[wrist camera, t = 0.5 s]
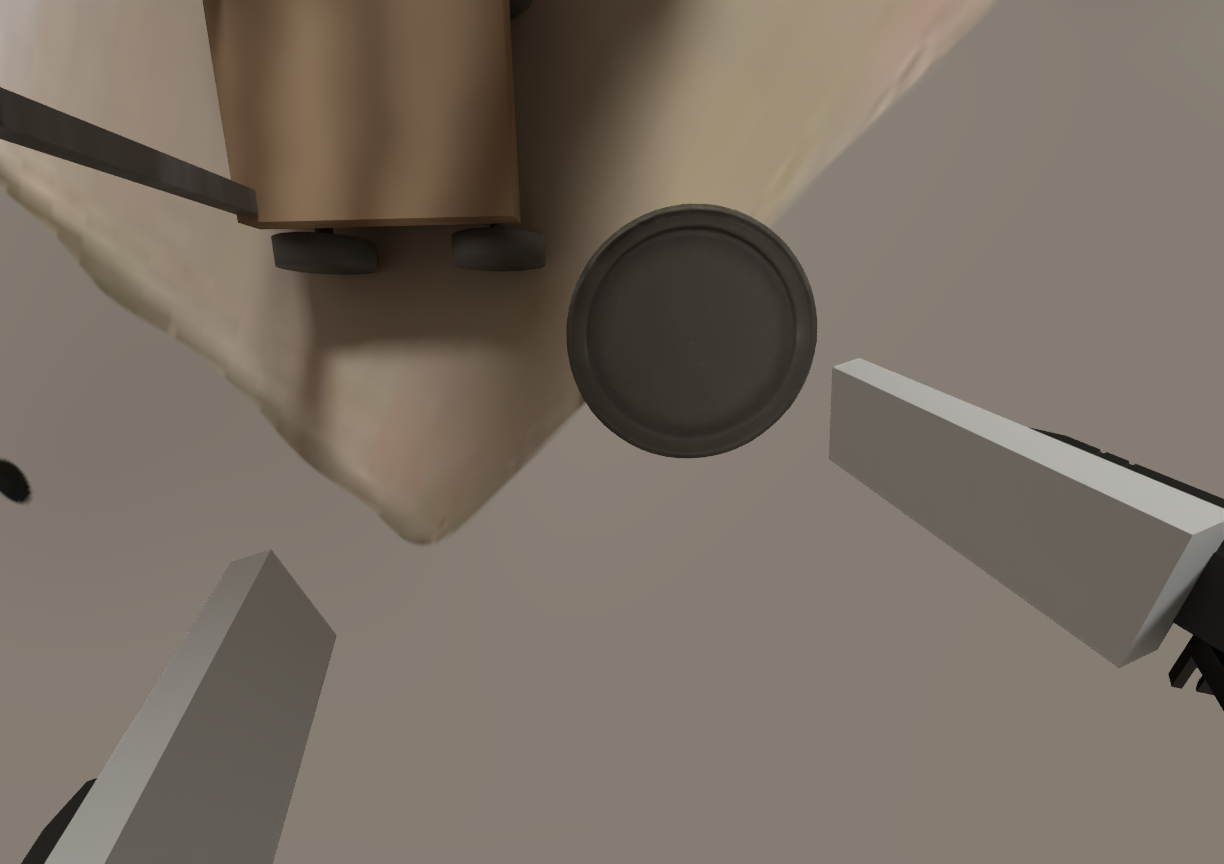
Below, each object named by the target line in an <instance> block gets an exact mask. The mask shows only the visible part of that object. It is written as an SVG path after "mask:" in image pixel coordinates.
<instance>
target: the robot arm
mask: <svg viewBox="0 0 1224 864" xmlns="http://www.w3.org/2000/svg"><path fill="white" fill-rule="evenodd" d="M832 368H833V369H832V392H831V393H832V396H831V420H830V446H829V459H830V460H831V461H833V462H834V463H835V464H837V465H838V466H839V467H841V468H842V469H844V470H845V471H846V472H848V473H849V474H851V475H852V476H853V477H855V478H856V479H857V480H859V481H860V482H862V483H863V484H864V485H866V486H867V487H869V488H870V489H871V490H873V491H874V492H876V493H877V494H878V495H880V496H881V497H882V498H884V499H885V500H887V501H888V502H889V503H891V504H892V505H894V506H895V507H896V508H898V509H899V510H901V511H902V512H903V513H905V514H906V515H908V516H909V517H910V518H912V519H913V520H914V521H916V522H917V523H919V524H920V525H921V526H923V527H924V528H925V529H927V530H928V531H930V532H931V533H932V534H934V535H935V536H937V537H938V538H939V539H941V540H942V541H944V542H945V543H946V544H948V545H949V546H950V547H952V548H953V549H955V550H956V551H957V552H959V553H960V554H962V555H963V556H964V557H966V558H967V559H969V560H970V561H971V562H973V563H974V564H976V565H977V566H978V567H980V568H981V569H982V570H984V571H985V572H986V573H988V574H989V575H991V576H992V577H993V578H995V579H996V580H998V581H999V582H1000V583H1002V584H1003V585H1005V586H1006V587H1007V588H1009V589H1010V590H1011V591H1013V592H1014V593H1016V594H1017V595H1018V596H1020V597H1021V598H1023V599H1024V600H1025V601H1027V602H1028V603H1030V604H1031V605H1032V606H1034V607H1035V608H1036V609H1038V610H1039V611H1041V612H1042V613H1043V614H1045V615H1046V616H1048V617H1049V618H1050V619H1052V620H1053V621H1054V622H1056V623H1057V624H1059V625H1060V626H1062V627H1063V628H1064V629H1066V630H1067V631H1068V632H1070V633H1071V634H1072V635H1074V636H1075V637H1077V638H1078V639H1079V640H1081V641H1082V642H1084V643H1085V644H1086V645H1088V646H1089V647H1091V648H1092V649H1093V650H1095V651H1096V652H1098V653H1099V654H1100V655H1102V656H1103V657H1104V658H1106V659H1107V660H1109V661H1110V662H1111V663H1113V664H1114V665H1115V666H1117V667H1118V668H1120V667H1122V666H1124V665H1126V664H1129V663H1130V662H1133V661H1135V660H1137V659H1139V658H1141V657H1143V656H1145V655H1147V654H1149V653H1151V652H1153V651H1155V650H1157V649H1158V648H1159V646H1160V644H1161V643H1162V641H1163V639H1164V638H1165V636H1166V634H1167V633H1168V631H1169V629H1170V628H1171V626H1172V624H1173V623H1175V624H1177V625H1178V626H1180V627H1182V628H1183V629H1185V630H1187V631H1188V632H1190V633H1192V634H1193V636H1192V638H1191V640H1190V641H1189V642H1188V644H1187V646H1186V647H1185V649H1184V650H1183V652H1182V653H1181V655H1180V656H1179V658H1178V659H1177V661H1176V663H1175V664H1174V666H1173V667H1172V669H1171V670H1170V672H1169V678H1170V682H1171V686H1172V687H1177V688H1182V687H1183V686H1184V685H1185V683H1186V682H1187V680H1188V678H1189V677H1190V676H1191V674H1192V673H1193V671H1194V670H1195V669H1196V668H1199V670H1200V672H1201V674H1202V677H1201V678H1200V679H1199V681H1198V683H1197V687H1196V691H1197V692H1202V693H1206V694H1211V695H1214V696H1215V697H1216V699H1217V700H1218V702H1219V704H1220V706H1221V707H1222V709H1223V711H1224V499H1222V498H1220V497H1217V496H1215V495H1212V494H1210V493H1207V492H1205V491H1202V490H1200V489H1197V488H1195V487H1192V486H1190V485H1187V484H1185V483H1182V482H1180V481H1177V480H1175V479H1172V478H1170V477H1167V476H1165V475H1162V474H1160V473H1157V472H1155V471H1152V470H1150V469H1147V468H1145V467H1142V466H1140V465H1137V464H1135V465H1131V464H1129V461H1128V460H1125V459H1122V458H1120V457H1117V456H1115V455H1113V454H1110V453H1107V452H1106V453H1101V452H1100V449H1097V448H1095V447H1093V446H1090V445H1087V444H1085V443H1083V442H1080V441H1078V440H1075V439H1073V438H1070V437H1068V436H1064V435H1060V434H1055V433H1051V432H1046V431H1042V430H1038V429H1033V428H1027V427H1025V426H1023V425H1020V424H1018V423H1015V422H1013V421H1010V420H1008V419H1006V418H1003V417H1001V416H998V415H996V414H994V413H991V412H989V411H986V410H984V409H982V408H979V407H977V406H974V405H972V404H969V403H967V402H965V401H962V400H960V399H957V398H955V397H952V396H950V395H948V394H945V393H943V392H940V391H938V390H936V389H933V388H931V387H928V386H926V385H923V384H921V383H918V382H916V381H914V380H911V379H909V378H907V377H904V376H902V375H899V374H897V373H894V372H892V371H890V370H887V369H884V368H882V367H880V366H878V365H875V364H873V363H870V362H868V361H865V360H863V359H860V358H858V359H855V360H852V361H849V362H846V363H843V364H839V365H836V366H833V367H832ZM335 639H336V634H335V633H334V632H333V630H332V629H331V628H330V626H329V625H328V623H327V622H326V621H325V619H324V618H323V617H322V616H321V614H320V613H319V612H318V610H317V609H316V608H315V607H314V605H313V604H312V602H311V601H310V600H309V599H308V597H307V596H306V595H305V593H304V592H303V591H302V589H301V588H300V587H299V585H298V584H297V583H296V581H295V580H294V579H293V577H292V576H291V575H290V573H289V572H288V571H287V570H286V568H285V567H284V566H283V564H282V563H281V562H280V560H279V559H278V558H277V556H276V555H275V554H274V553H273V551H272V550H267V551H264V552H261V553H258V554H255V555H252V556H249V557H246V558H243V559H240V560H237V561H233V562H231V563H230V565H229V567H228V568H227V570H226V571H225V573H224V575H223V576H222V578H221V580H220V581H219V583H218V584H217V586H216V588H215V589H214V591H213V593H212V594H211V596H210V597H209V599H208V600H207V602H206V604H205V605H204V607H203V609H202V610H201V612H200V613H199V615H198V617H197V618H196V620H195V621H194V623H193V625H192V627H191V628H190V630H189V631H188V633H187V634H186V636H185V638H184V639H183V641H182V642H181V644H180V646H179V647H178V649H177V651H176V652H175V654H174V655H173V657H172V659H171V660H170V662H169V663H168V665H167V667H166V668H165V670H164V671H163V673H162V675H161V676H160V678H159V680H158V681H157V683H156V684H155V686H154V688H153V689H152V691H151V693H150V694H149V696H148V697H147V699H146V701H145V702H144V704H143V705H142V707H141V709H140V710H139V712H138V714H137V715H136V717H135V718H134V720H133V722H132V723H131V725H130V726H129V728H128V730H127V731H126V733H125V734H124V736H123V738H122V739H121V741H120V743H119V744H118V746H117V747H116V749H115V751H114V752H113V754H112V755H111V757H110V759H109V760H108V762H107V764H106V765H105V767H104V768H103V770H102V772H101V773H100V775H99V776H98V778H96V779H93V780H90V781H88V782H86V783H85V784H84V785H83V787H82V788H81V789H80V790H79V791H78V792H77V793H76V794H75V795H74V796H73V797H72V799H71V800H70V801H69V802H68V803H67V804H66V805H65V806H64V807H63V809H62V810H61V811H60V812H59V813H58V814H57V815H56V816H55V817H54V819H53V820H52V821H51V822H50V823H49V824H48V825H47V826H46V827H45V828H44V830H43V831H42V833H41V834H40V836H39V837H38V839H37V840H36V842H35V843H34V845H33V846H32V848H31V850H30V851H29V852H28V854H27V855H26V857H25V859H24V860H23V862H22V863H21V864H273V861H274V857H275V854H276V850H277V847H278V843H279V839H280V836H281V832H282V828H283V825H284V821H285V818H286V814H287V811H288V807H289V804H290V800H291V796H292V793H293V789H294V786H295V782H296V779H297V774H298V771H299V768H300V764H301V761H302V757H303V753H304V750H305V746H306V743H307V739H308V736H309V732H310V728H311V725H312V721H313V718H314V713H315V710H316V707H317V703H318V700H319V696H320V693H321V689H322V685H323V682H324V678H325V675H326V671H327V668H328V664H329V660H330V657H331V653H332V650H333V646H334V642H335Z"/></svg>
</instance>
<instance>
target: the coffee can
mask: <svg viewBox="0 0 1224 864" xmlns="http://www.w3.org/2000/svg"><path fill="white" fill-rule="evenodd" d="M816 342H817V316H816V308H815V302H814V297H813V293H812V289H811V286H810V284H809V281H808V278H807V276H806V274H805V272H804V270H803V268H802V266H801V264H800V262H799V261H798V259H797V258H796V256H795V255H794V254H793V252H792V251H791V250H790V248H789V247H788V246H787V244H786V243H785V242H784V241H783V240H782V239H781V238H780V237H779V236H777V235H776V234H775V233H774V232H773V231H772V230H770V229H769V228H768V227H767V226H766V225H764V224H762V223H761V222H759V221H757V220H756V219H754V218H752V217H750V216H748V215H746V214H743V213H741V212H739V211H736V210H733V209H729V208H726V207H722V206H717V205H710V204H681V205H676V206H670V207H665V208H662V209H658V210H655V211H652V212H650V213H647V214H645V215H642V216H640V217H639V218H637V219H635V220H633V221H631V222H630V223H628V224H626V225H625V226H623V227H622V228H621V229H619V230H618V231H617V232H616V233H614V234H613V235H612V236H611V237H610V238H609V239H608V240H606V241H605V242H604V243H603V244H602V245H601V247H600V248H599V249H598V250H597V251H596V252H595V254H594V255H593V256H592V258H591V259H590V260H589V262H588V263H587V265H586V267H585V269H584V271H583V272H582V274H581V276H580V278H579V280H578V282H577V285H576V287H575V290H574V292H573V295H572V299H571V303H570V307H569V313H568V319H567V350H568V356H569V362H570V366H571V370H572V373H573V376H574V379H575V382H576V384H577V387H578V389H579V391H580V393H581V395H582V397H583V398H584V400H585V402H586V403H587V405H588V406H589V408H590V409H591V411H592V412H593V413H594V414H595V416H596V417H597V418H598V419H599V420H600V421H601V422H602V423H603V424H604V425H605V426H606V427H607V428H608V429H610V430H611V431H612V432H613V433H615V434H616V435H617V436H619V437H620V438H622V439H623V440H625V441H627V442H628V443H630V444H632V445H634V446H636V447H638V448H640V449H642V450H645V451H647V452H650V453H654V454H657V455H662V456H666V457H675V458H700V457H707V456H713V455H718V454H722V453H725V452H728V451H731V450H734V449H736V448H738V447H740V446H743V445H745V444H747V443H749V442H750V441H752V440H754V439H755V438H756V437H758V436H760V435H761V434H762V433H764V432H765V431H766V430H767V429H768V428H770V427H771V426H772V425H773V424H774V423H775V422H777V420H779V419H780V418H781V416H782V415H783V414H784V413H785V412H786V411H787V410H788V409H789V408H790V406H791V405H792V403H793V402H794V400H795V399H796V397H797V396H798V394H799V392H800V390H801V388H802V387H803V384H804V383H805V380H806V378H807V376H808V374H809V370H810V368H811V364H812V360H813V356H814V353H815V347H816Z"/></svg>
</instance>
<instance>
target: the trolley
mask: <svg viewBox="0 0 1224 864" xmlns="http://www.w3.org/2000/svg"><path fill="white" fill-rule="evenodd" d="M531 2H532V0H203V6H204V12H205V19H206V25H207V31H208V37H209V44H210V50H211V56H212V63H213V69H214V75H215V81H216V88H217V94H218V100H219V106H220V113H221V119H222V125H223V131H224V138H225V144H226V150H227V156H228V163H229V169H230V175H231V180H229V179H227V178H224V177H222V176H219V175H217V174H214V173H212V172H209V171H207V170H204V169H202V168H199V167H197V166H194V165H192V164H189V163H187V162H184V161H182V160H179V159H177V158H175V157H172V156H170V155H167V154H165V153H162V152H160V151H157V150H155V149H152V148H150V147H147V146H145V145H142V144H140V143H137V142H135V141H132V140H130V139H127V138H125V137H122V136H120V135H117V134H115V133H113V132H110V131H108V130H105V129H103V128H100V127H98V126H95V125H93V124H90V123H88V122H85V121H83V120H80V119H78V118H75V117H73V116H70V115H68V114H65V113H63V112H60V111H58V110H55V109H53V108H51V107H48V106H46V105H43V104H41V103H38V102H36V101H33V100H31V99H28V98H26V97H23V96H21V95H18V94H16V93H13V92H11V91H8V90H6V89H3V88H1V87H0V139H3V140H6V141H9V142H12V143H15V144H18V145H21V146H24V147H27V148H31V149H34V150H37V151H40V152H43V153H46V154H49V155H52V156H56V157H59V158H62V159H65V160H68V161H71V162H74V163H77V164H80V165H84V166H87V167H90V168H93V169H96V170H99V171H102V172H105V173H109V174H112V175H115V176H118V177H121V178H124V179H127V180H130V181H133V182H137V183H140V184H143V185H146V186H149V187H152V188H155V189H158V190H162V191H165V192H168V193H171V194H174V195H177V196H180V197H183V198H187V199H190V200H193V201H196V202H199V203H202V204H205V205H208V206H211V207H215V208H218V209H221V210H224V211H227V212H230V213H233V214H236V215H237V219H238V223H241V224H245V225H248V226H251V227H254V228H258V229H293V228H315V232H288V233H279V234H275V235H273V236H272V237H271V239H272V246H273V252H274V259H275V265H276V267H278V268H281V269H286V270H291V271H298V272H307V273H318V274H341V275H352V274H369V273H375V272H377V271H378V269H377V260H376V251H375V244H374V243H373V242H370V241H368V240H365V239H361V238H357V237H351V236H345V235H338V234H334V233H333V227H374V226H414V225H454V224H490V227H486V228H471V229H464V230H460V231H456V232H454V233H453V234H452V248H453V261H454V265H456V266H458V267H462V268H467V269H474V270H486V271H523V270H532V269H538V268H542V267H544V266H545V250H544V237H543V236H542V235H540V234H538V233H535V232H531V231H527V230H521V229H513V228H506V223H521V218H520V199H519V179H518V160H517V140H516V121H515V101H514V81H513V62H512V42H511V23H510V19H511V18H514V17H516V16H518V15H520V14H522V13H523V12H524V11H526V10H527V8H528V7H529V6H530V4H531Z"/></svg>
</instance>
